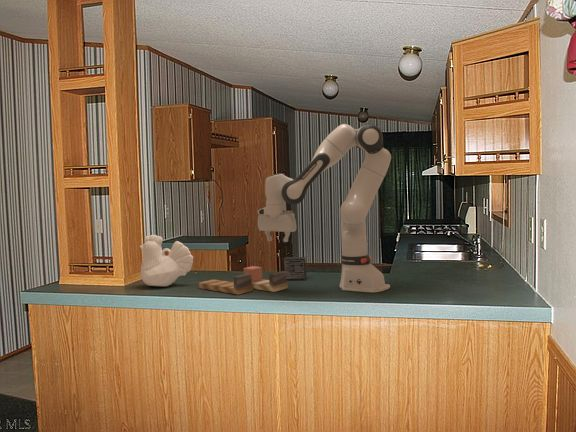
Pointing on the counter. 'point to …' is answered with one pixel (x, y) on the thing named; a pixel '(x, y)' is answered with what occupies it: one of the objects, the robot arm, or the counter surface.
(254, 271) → the brick block
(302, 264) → the small box
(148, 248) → the decorative rooster
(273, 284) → the birch strip
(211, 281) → the oak strip
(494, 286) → the counter surface
